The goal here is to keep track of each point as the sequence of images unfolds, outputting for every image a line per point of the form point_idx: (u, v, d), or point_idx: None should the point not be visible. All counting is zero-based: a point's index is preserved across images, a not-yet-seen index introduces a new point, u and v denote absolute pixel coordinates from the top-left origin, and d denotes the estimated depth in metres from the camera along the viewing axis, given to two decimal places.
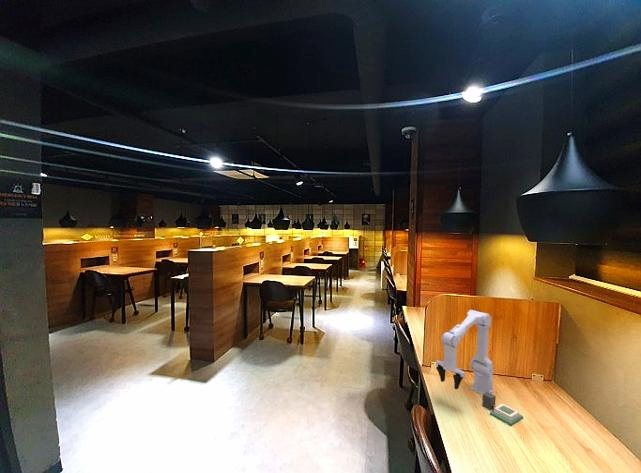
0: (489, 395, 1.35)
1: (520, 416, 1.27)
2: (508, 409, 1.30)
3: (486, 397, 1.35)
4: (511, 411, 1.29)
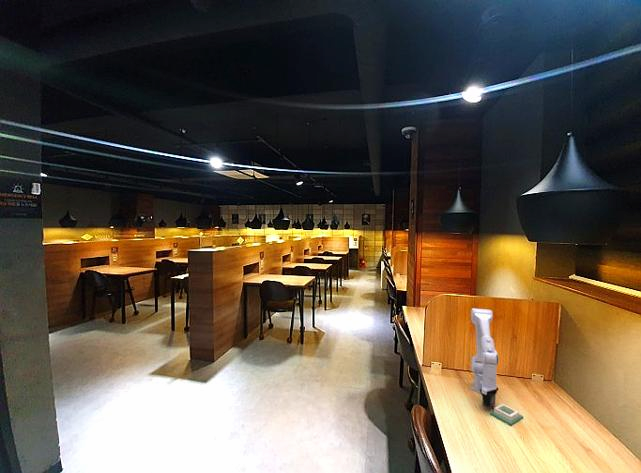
0: None
1: (520, 416, 1.27)
2: (508, 409, 1.30)
3: None
4: (511, 411, 1.29)
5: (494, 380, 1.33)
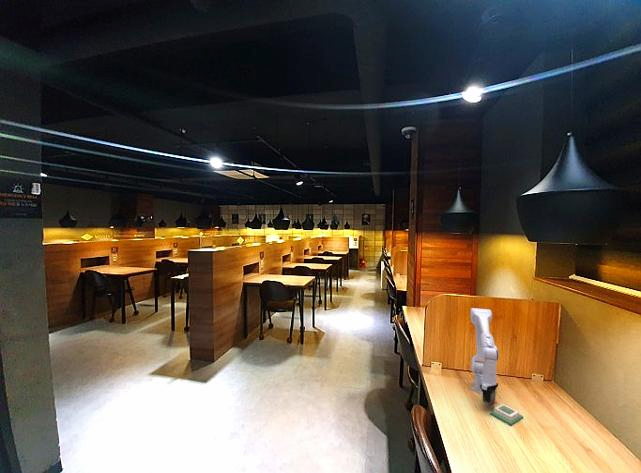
0: None
1: (520, 416, 1.27)
2: (508, 409, 1.30)
3: None
4: (511, 411, 1.29)
5: (494, 375, 1.33)
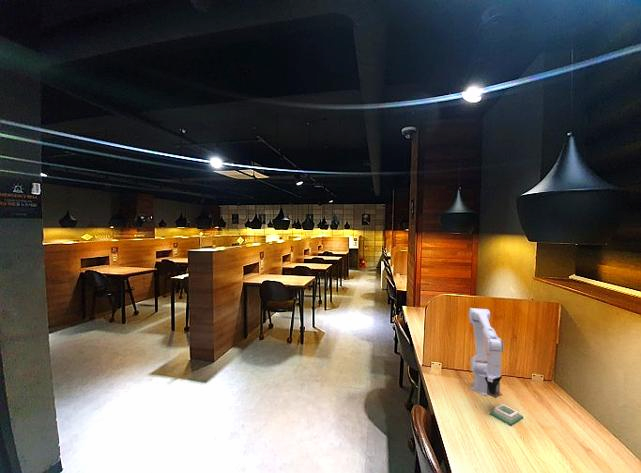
0: None
1: (520, 416, 1.27)
2: (508, 409, 1.30)
3: None
4: (511, 411, 1.29)
5: (499, 367, 1.31)
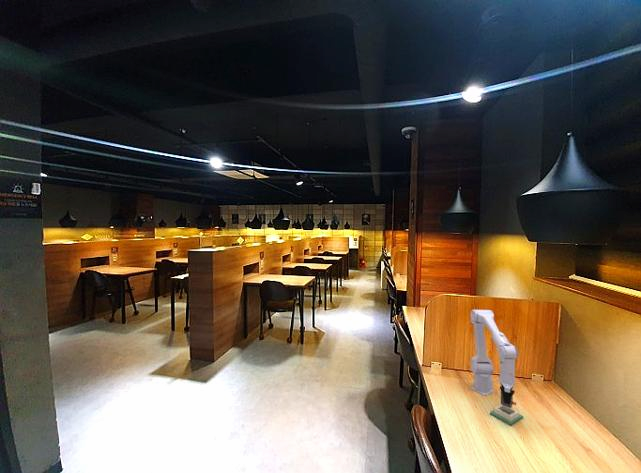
0: None
1: (520, 416, 1.27)
2: (508, 409, 1.30)
3: None
4: (511, 411, 1.29)
5: (513, 375, 1.26)
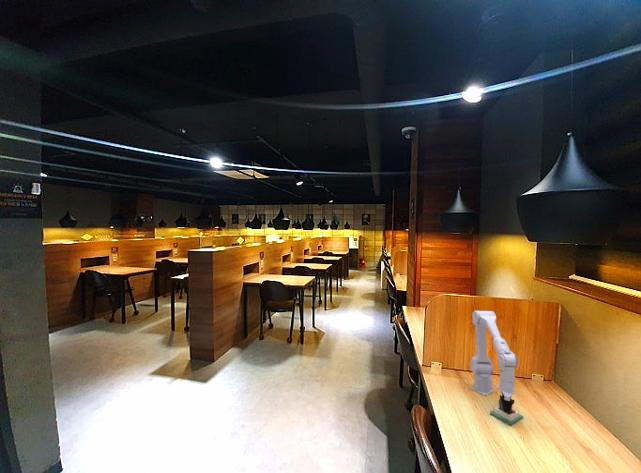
0: None
1: (520, 416, 1.27)
2: None
3: None
4: None
5: (513, 383, 1.26)
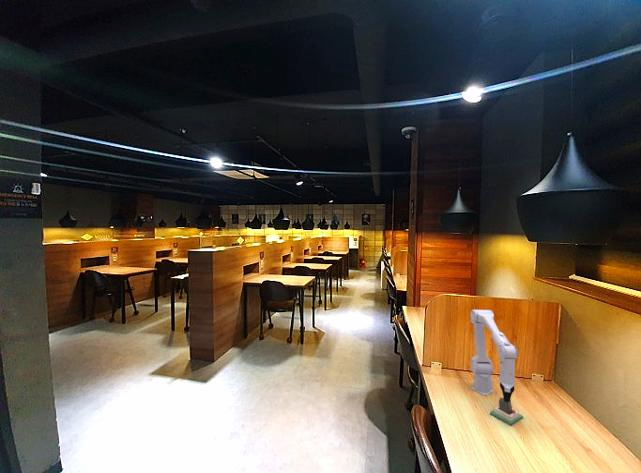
0: None
1: (520, 416, 1.27)
2: None
3: (503, 403, 1.28)
4: None
5: (514, 375, 1.26)
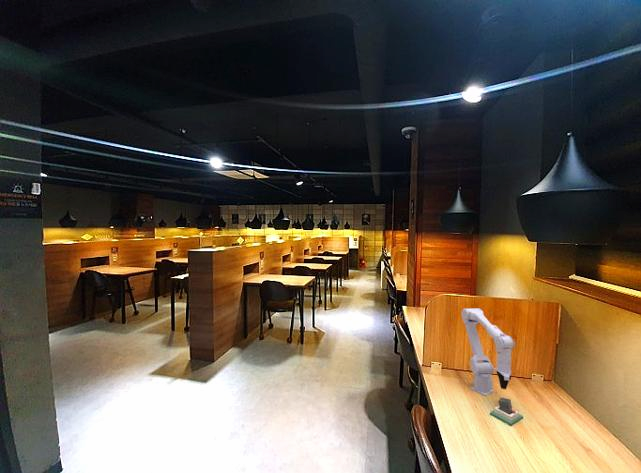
0: (505, 400, 1.28)
1: (520, 416, 1.27)
2: None
3: (503, 403, 1.28)
4: None
5: (510, 364, 1.33)
